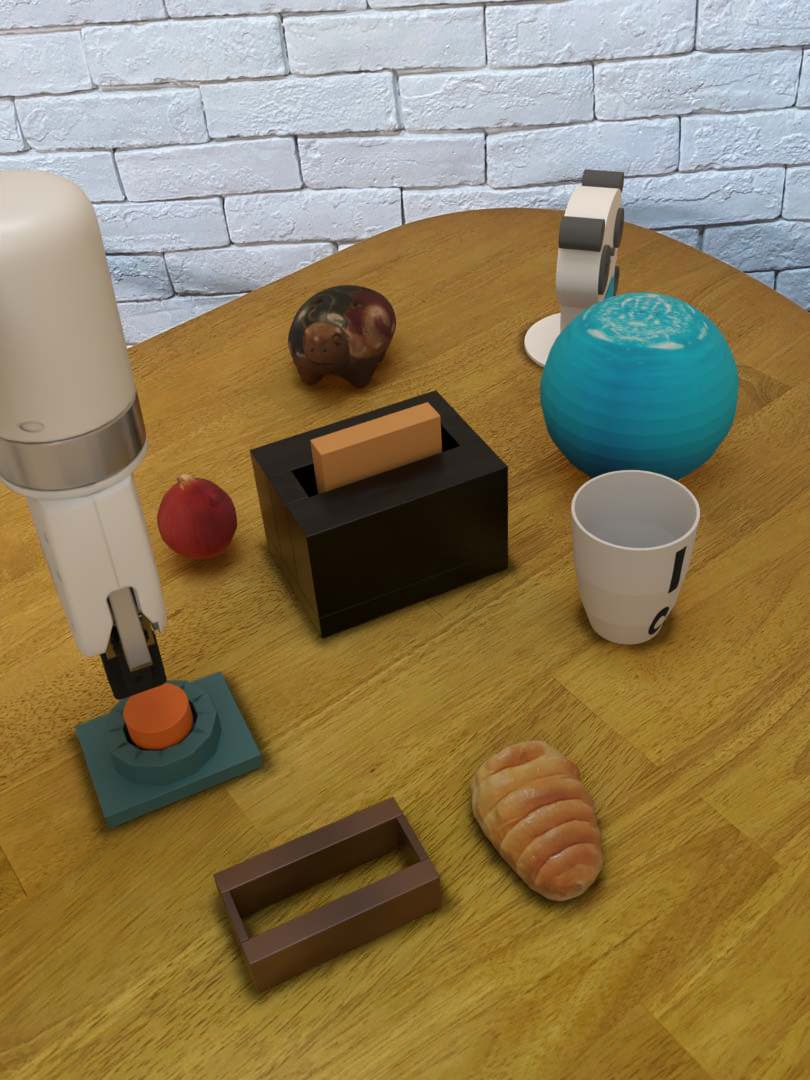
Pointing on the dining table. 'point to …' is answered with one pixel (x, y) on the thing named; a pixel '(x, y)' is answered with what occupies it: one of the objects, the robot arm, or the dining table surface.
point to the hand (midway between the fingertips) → (138, 683)
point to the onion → (196, 518)
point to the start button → (158, 717)
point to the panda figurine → (583, 256)
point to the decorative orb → (639, 387)
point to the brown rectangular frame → (337, 920)
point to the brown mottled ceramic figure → (341, 334)
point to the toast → (376, 446)
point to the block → (168, 754)
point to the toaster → (384, 522)
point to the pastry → (539, 818)
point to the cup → (632, 550)
